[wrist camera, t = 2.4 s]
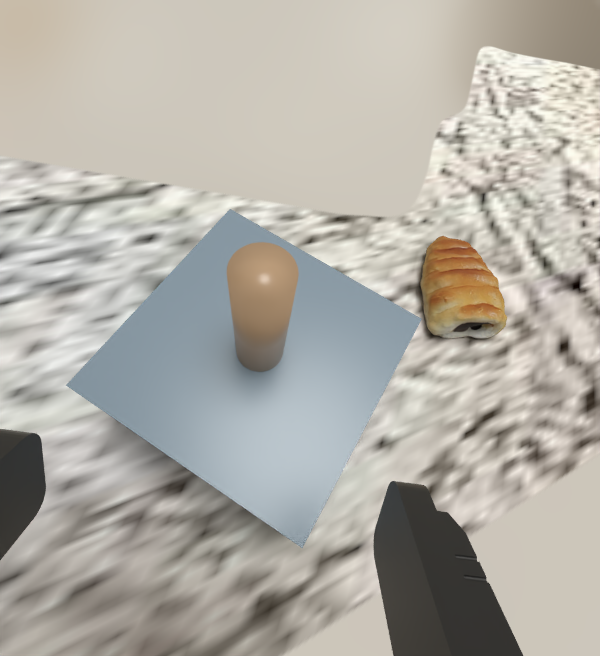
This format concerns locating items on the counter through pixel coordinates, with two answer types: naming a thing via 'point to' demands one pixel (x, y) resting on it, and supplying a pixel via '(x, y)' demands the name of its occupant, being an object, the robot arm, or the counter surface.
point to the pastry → (460, 292)
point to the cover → (253, 370)
